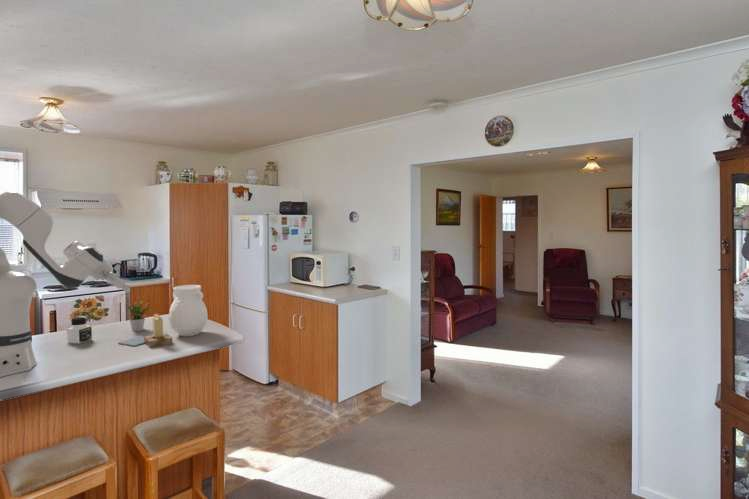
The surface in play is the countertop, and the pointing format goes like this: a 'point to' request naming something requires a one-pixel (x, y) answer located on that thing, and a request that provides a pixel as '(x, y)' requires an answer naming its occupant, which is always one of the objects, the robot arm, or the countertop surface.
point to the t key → (157, 327)
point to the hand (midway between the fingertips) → (127, 289)
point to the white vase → (188, 310)
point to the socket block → (158, 340)
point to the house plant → (137, 316)
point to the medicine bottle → (79, 331)
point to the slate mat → (133, 341)
